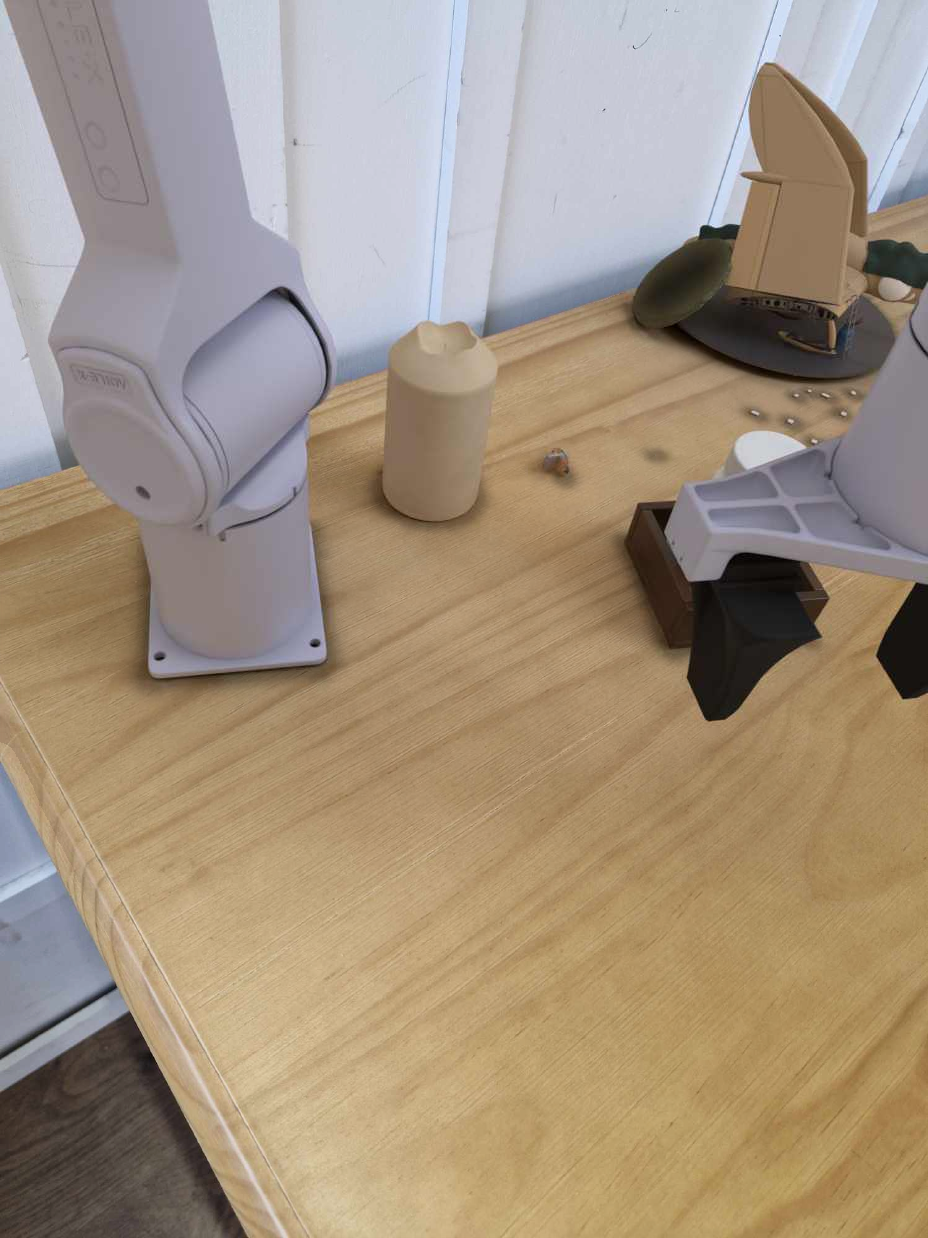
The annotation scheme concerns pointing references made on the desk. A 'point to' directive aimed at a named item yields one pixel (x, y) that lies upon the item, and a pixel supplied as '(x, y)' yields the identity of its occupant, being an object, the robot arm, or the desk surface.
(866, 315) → the toy
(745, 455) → the pill bottle
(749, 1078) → the desk surface
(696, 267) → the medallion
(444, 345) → the candle
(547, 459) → the figurine
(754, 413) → the crumbs
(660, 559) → the dark brown square box
